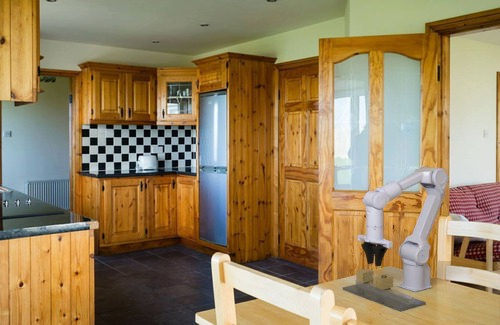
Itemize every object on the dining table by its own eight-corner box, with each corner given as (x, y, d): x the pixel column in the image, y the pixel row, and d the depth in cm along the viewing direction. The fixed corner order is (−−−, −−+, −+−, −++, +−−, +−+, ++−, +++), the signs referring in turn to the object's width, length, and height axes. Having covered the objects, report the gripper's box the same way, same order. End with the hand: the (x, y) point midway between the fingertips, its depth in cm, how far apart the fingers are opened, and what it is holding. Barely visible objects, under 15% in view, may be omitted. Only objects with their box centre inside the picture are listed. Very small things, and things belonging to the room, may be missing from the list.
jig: (366, 284, 177) (367, 266, 177) (425, 304, 155) (426, 284, 155) (342, 289, 171) (342, 271, 171) (400, 311, 149) (400, 290, 149)
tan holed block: (386, 290, 167) (386, 273, 166) (393, 292, 164) (394, 275, 164) (375, 292, 164) (375, 276, 163) (382, 295, 161) (382, 278, 161)
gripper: (351, 223, 170) (351, 261, 171) (382, 230, 158) (382, 271, 158) (365, 222, 174) (365, 259, 174) (397, 228, 161) (396, 268, 162)
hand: (374, 264), depth 167 cm, fingers open, 3 cm apart
